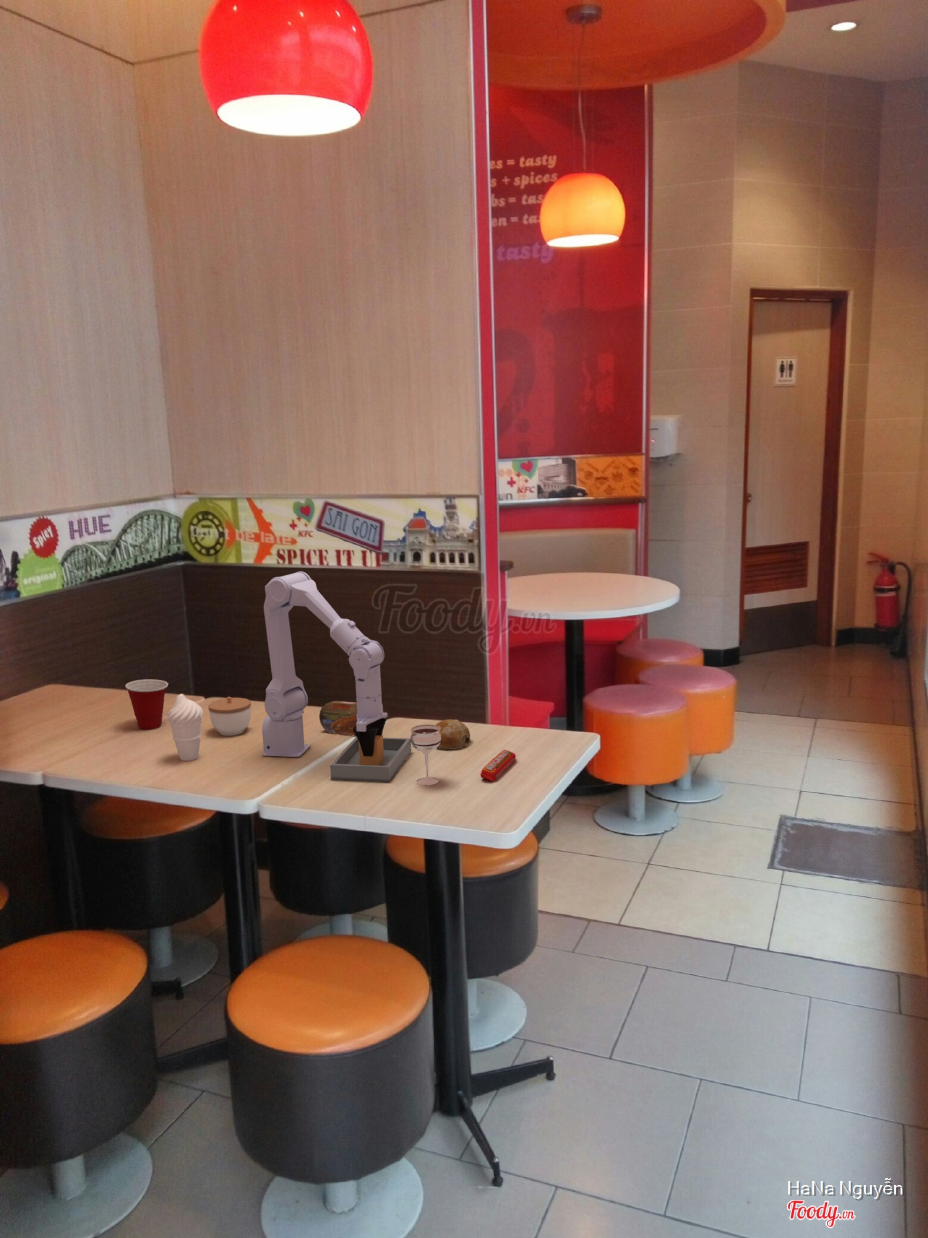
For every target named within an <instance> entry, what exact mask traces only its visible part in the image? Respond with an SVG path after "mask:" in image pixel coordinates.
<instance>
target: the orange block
mask: <svg viewBox="0 0 928 1238" xmlns="http://www.w3.org/2000/svg"><path fill="white" fill-rule="evenodd" d="M383 737H384V735H382V736H378V735H376V737H375V743H374V753H373V756H372V757H370V756H363V753H362V750H361V746H360V743H359V741H358V743H359V760H360V765H375V766H380V765H381V763H382V762H383V761H384V747H383Z"/></svg>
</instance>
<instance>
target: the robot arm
mask: <svg viewBox="0 0 928 1238" xmlns="http://www.w3.org/2000/svg"><path fill="white" fill-rule="evenodd" d="M264 591H265V600H264V603H263V613H264V620H265V621H264V622H265V628H266V630H265V631H266V637H267V644H268V646H267V647H268V654H269V660H270V668H271V669H270V671H271V676H272V678H271V679H272V680H271V681H270V683H268V686H267V687H266V689H265V700H264V710H265V712H266V714H267V715H266V716H265V717H264V719H263V720H262V721H263V722H262V727H261V730H262V732H261V733H262V734H261V735H262V747H263V753H262V756H265V757H285V758H286V757H289V758H300V757H301V756H302V755H303V754H305V753H306V752H307V751H308V750H309V749H310V747H311V744H307V743H305V733H304V720H303V719H304V718H303V714H304V713H305V710H304V709H305V708H306V707H307V705H308V703H309V697H308V694H307V692H306V689H305V688H304V681H303V680H302V679H300V678H299V677H298V676H297V675H296V669H295V668H296V667H295V659H294V652H293V651H294V650H293V642H292V635H291V633H292V632H291V627H290V618H289V612H290V611H291V610H292V608H293V607H304V608H305V607H306V608H307V609H308V610H309V611H310V612H311V613H312V614H313V615H315V616H316V617H317V618H318V619H319V620H320V621H321V622H322V623H323V624H325V626H326V627H328V629H329V635H330V638H331V639H332V640H333V641H334V642H335V643H336V644H337V645H338V646H339V647H340V648H341V649H342V650H343V652H344V653H346V654H347V656H349V657H348V661H349V662H348V663H349V665H350V667H351V669H352V670H353V676H354V678H355V694H356V703H357V723H356V726H354V727H353V732H354V734H355V735H356V736H355V737H357V739H358V741H359V743H360V746H361V750H362V753H363V756H370V757H372V756H373V753H374V743H375V737H376V735H378V736H383V732H384V729H385V725H386V723H387V720H388V712H384V708H383V707H384V705H383V703H382V702H383V701H382V681H381V680H382V679H381V664H382V663H383V662H384V659H385V651H384V647H383V646H382V645H381V644H380V642H379V641H377V640H372V639H370V638H369V637H368V636H365V635H364V634H363V633H362V631H360V629H359V628H357V626H356V622H355V621H353V620H350V619H348V618H342V617H340V616H339V614H338V613H337V612H336V611H335V609H334V608H333V607H332V605H331V604H330V603H329V602H328V601H327V600H326V599H325V598H324V595H322V594H321V592H319V589H318V588H317V584H316V582H315V581H314V580H313V579H312V578H311V577H310V575H309V574H307V573H306V572H304V571H296V572H294V573H290V574H286V575H282V576H275V577H273V578H271V579H270V581H269V582H268V583H267V584H266V585H264Z"/></svg>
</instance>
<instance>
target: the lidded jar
mask: <svg viewBox="0 0 928 1238" xmlns="http://www.w3.org/2000/svg"><path fill="white" fill-rule="evenodd" d="M251 706H252V702H251V700H249V699H248V698H242V697H231V696H227V697H226V698H220V699H217V700H214V701H211V702H210V703H209V704H208V711H209V712H208V713H209V718H210V719H209V720H210V722H211V726H212V727H213V728H214V729H215V730H216V731H217V732H218V733H219V735H221V736H225V737H226V736H228V737H230V736H236V735H240V734H242V733H244V731H245V729H246V728H247V727H248V726H249V724H250V721H251V716H252V707H251Z"/></svg>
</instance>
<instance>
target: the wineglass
mask: <svg viewBox="0 0 928 1238" xmlns="http://www.w3.org/2000/svg"><path fill="white" fill-rule="evenodd" d="M440 729H441V728H440V727H439V726H436V724H418V725H415V726H413V727H411V728H410V729H409V730H410V732H411V735H410V740H411V746H412V747H413V748H414V749H415V750H416V751H418V752H421V753H423V755H424V763H425V771H426V773H425V775H426V776H425V777H420V778H418V779H417V780H416V783H417V785H420V786H433V785H436V784H438V783H439V781H440V780H439V779H438V778H437V777H434V776H429V755H430V754H431V752H433V751H436V749H437V747H438V746H439V745H440V742H441V734H440V733H439V731H440Z"/></svg>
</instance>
